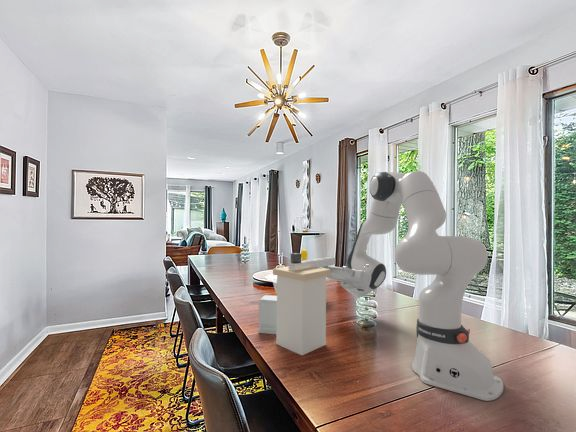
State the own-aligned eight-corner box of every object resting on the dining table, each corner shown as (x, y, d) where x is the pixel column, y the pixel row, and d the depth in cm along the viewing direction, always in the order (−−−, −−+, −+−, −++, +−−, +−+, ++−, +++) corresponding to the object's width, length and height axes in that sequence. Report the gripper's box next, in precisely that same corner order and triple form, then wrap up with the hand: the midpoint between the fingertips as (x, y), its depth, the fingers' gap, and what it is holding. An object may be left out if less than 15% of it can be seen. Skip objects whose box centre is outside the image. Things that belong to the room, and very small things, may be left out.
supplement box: (277, 334, 117) (277, 300, 117) (258, 333, 118) (258, 299, 118) (281, 327, 124) (282, 295, 124) (263, 326, 126) (264, 294, 125)
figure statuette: (319, 286, 194) (319, 251, 194) (308, 288, 191) (308, 251, 190) (305, 281, 210) (305, 248, 210) (294, 282, 207) (295, 248, 206)
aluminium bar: (335, 264, 119) (336, 249, 119) (295, 271, 103) (295, 254, 103) (328, 263, 121) (328, 248, 121) (287, 270, 106) (288, 253, 106)
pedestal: (329, 344, 108) (330, 269, 108) (302, 357, 99) (303, 274, 98) (300, 333, 118) (300, 264, 118) (272, 344, 108) (273, 268, 108)
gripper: (333, 269, 138) (315, 256, 129) (375, 276, 123) (358, 261, 115) (328, 283, 135) (310, 270, 127) (370, 291, 121) (353, 278, 112)
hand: (333, 266), depth 121 cm, fingers open, 8 cm apart
